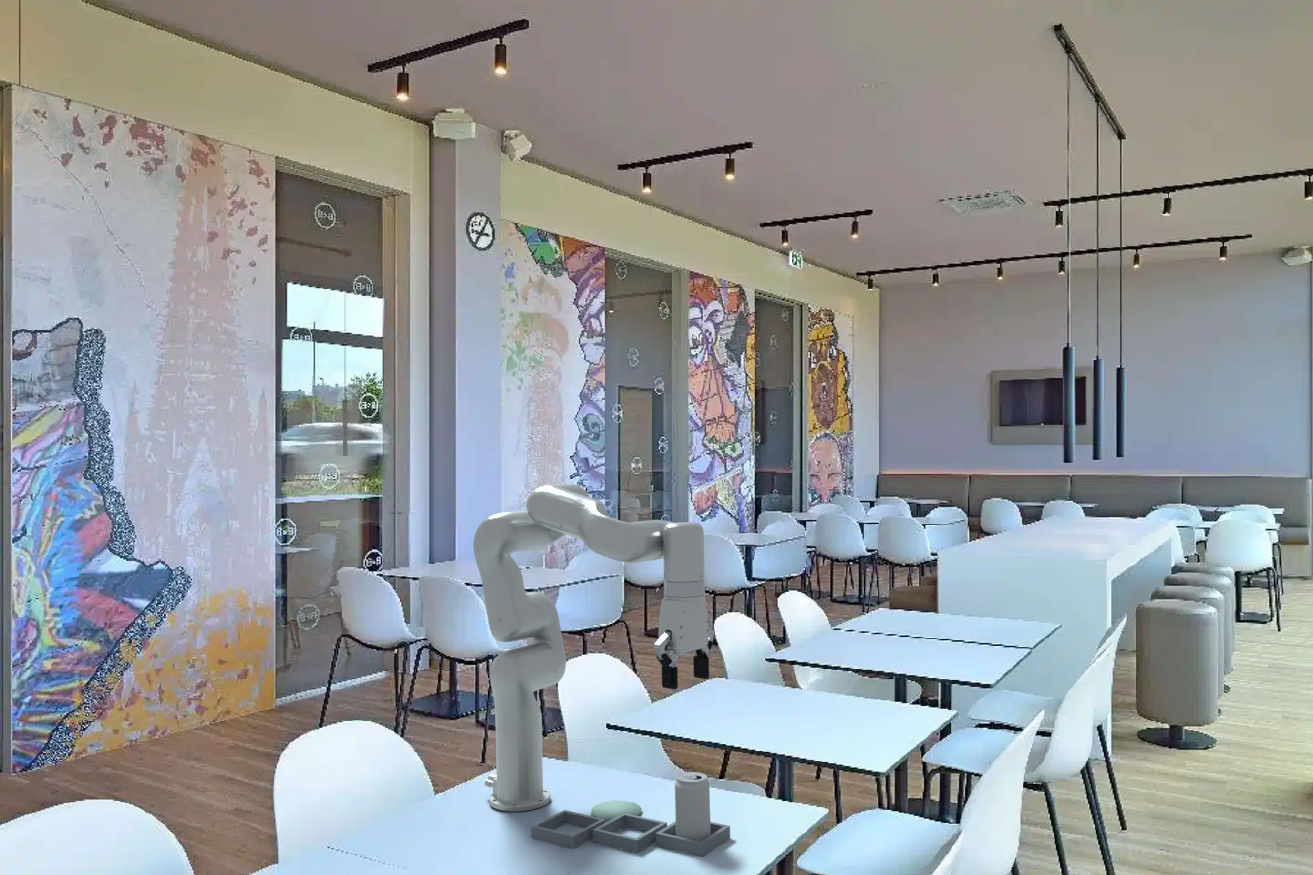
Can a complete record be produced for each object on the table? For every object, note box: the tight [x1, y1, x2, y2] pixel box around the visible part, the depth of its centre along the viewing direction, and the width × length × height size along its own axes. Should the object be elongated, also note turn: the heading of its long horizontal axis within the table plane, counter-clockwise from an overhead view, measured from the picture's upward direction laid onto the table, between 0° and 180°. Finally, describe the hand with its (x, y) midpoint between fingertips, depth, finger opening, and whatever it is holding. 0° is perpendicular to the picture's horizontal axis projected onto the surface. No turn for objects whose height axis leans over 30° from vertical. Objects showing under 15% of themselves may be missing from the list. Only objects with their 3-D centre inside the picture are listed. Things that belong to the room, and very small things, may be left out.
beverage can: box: [674, 771, 711, 842], centre depth 183 cm, size 6×6×12 cm
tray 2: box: [592, 813, 668, 853], centre depth 185 cm, size 10×10×2 cm
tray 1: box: [530, 809, 607, 850], centre depth 187 cm, size 10×10×2 cm
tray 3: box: [655, 820, 731, 857], centre depth 183 cm, size 10×10×2 cm
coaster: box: [590, 800, 642, 822], centre depth 198 cm, size 10×10×1 cm
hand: (685, 682), depth 182 cm, fingers open, 9 cm apart
